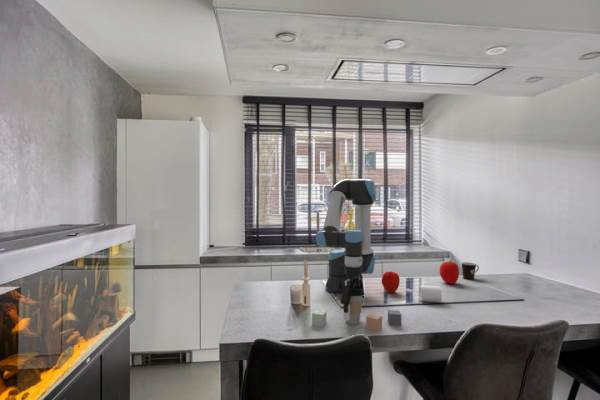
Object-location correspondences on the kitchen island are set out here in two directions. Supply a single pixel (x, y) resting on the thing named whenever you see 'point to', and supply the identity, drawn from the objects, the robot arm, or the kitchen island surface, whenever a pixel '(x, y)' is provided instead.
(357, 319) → the coffee cup
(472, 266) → the coffee mug
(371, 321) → the terracotta cube
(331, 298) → the kitchen island surface
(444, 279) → the red strawberry
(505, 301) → the kitchen island surface
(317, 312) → the sage cube
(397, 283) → the red rounded piece
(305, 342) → the kitchen island surface
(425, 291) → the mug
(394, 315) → the charcoal cube
